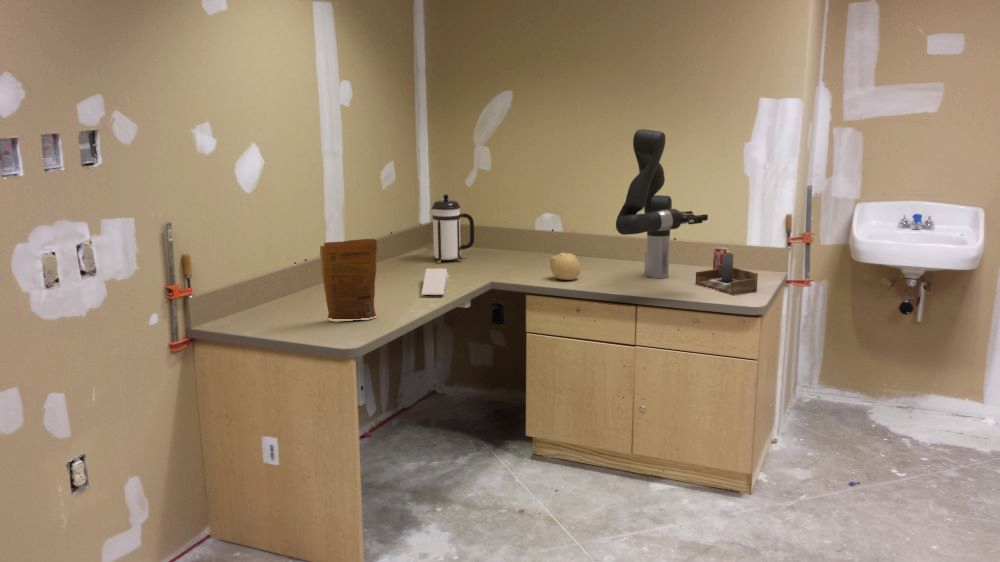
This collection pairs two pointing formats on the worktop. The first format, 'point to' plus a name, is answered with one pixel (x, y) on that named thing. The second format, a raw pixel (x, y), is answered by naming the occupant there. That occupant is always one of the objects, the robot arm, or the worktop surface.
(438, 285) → the white boxy piece
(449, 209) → the coffee press
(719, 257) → the soda can
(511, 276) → the worktop surface
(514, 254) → the worktop surface
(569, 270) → the tan round lump
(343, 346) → the worktop surface
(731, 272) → the tall grey cylinder
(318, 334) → the worktop surface
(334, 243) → the pancake mix bag
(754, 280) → the bay
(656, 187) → the robot arm
